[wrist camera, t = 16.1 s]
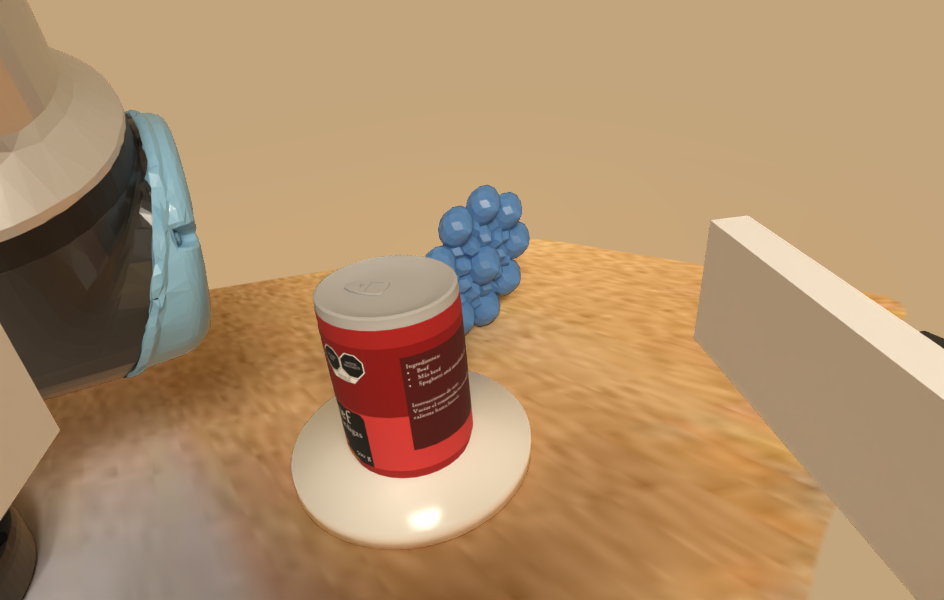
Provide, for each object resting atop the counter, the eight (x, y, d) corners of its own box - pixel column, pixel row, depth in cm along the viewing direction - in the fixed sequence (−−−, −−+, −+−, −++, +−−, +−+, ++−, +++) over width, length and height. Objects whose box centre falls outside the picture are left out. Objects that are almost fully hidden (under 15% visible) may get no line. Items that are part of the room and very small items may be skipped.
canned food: (358, 403, 41) (326, 259, 36) (473, 394, 41) (459, 248, 35) (337, 487, 34) (295, 326, 29) (475, 478, 34) (458, 313, 29)
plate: (244, 516, 35) (238, 501, 34) (366, 367, 47) (363, 355, 46) (489, 579, 30) (488, 564, 29) (554, 395, 42) (553, 381, 41)
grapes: (494, 284, 57) (485, 162, 51) (548, 306, 53) (545, 175, 47) (398, 336, 50) (376, 201, 45) (451, 365, 46) (434, 221, 40)
